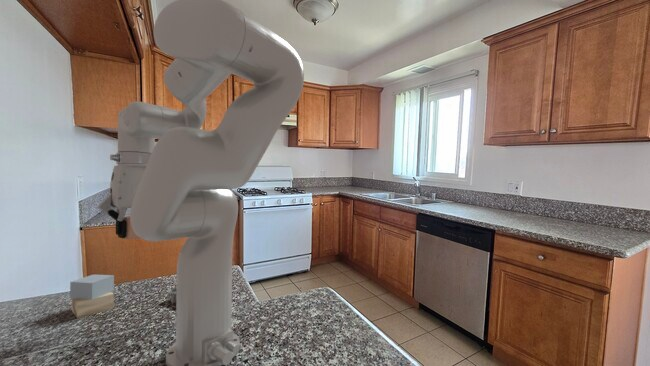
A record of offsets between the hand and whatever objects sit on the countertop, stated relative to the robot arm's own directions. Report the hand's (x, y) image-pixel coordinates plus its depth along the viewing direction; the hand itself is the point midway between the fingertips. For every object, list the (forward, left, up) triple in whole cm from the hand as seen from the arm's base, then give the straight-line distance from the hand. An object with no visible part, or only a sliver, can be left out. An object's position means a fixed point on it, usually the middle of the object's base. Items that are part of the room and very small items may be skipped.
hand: (135, 235), depth 68 cm
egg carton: (-2, -13, -20) cm, 24 cm away
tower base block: (+12, +5, -20) cm, 24 cm away
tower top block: (+12, +5, -16) cm, 20 cm away
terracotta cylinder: (0, 0, -1) cm, 1 cm away
